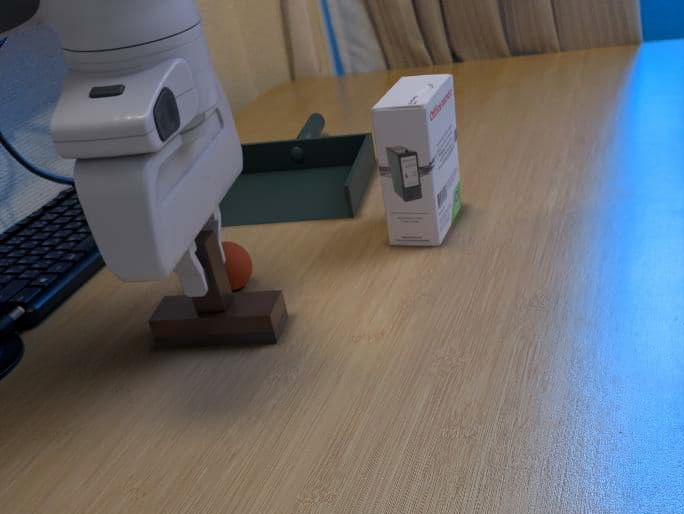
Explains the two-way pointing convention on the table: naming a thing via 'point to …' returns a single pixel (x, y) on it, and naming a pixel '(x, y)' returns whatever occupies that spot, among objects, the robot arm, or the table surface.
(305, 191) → the dustpan
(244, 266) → the ball
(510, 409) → the table surface
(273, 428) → the table surface
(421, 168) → the ink box
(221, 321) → the brush
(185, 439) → the table surface
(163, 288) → the table surface
